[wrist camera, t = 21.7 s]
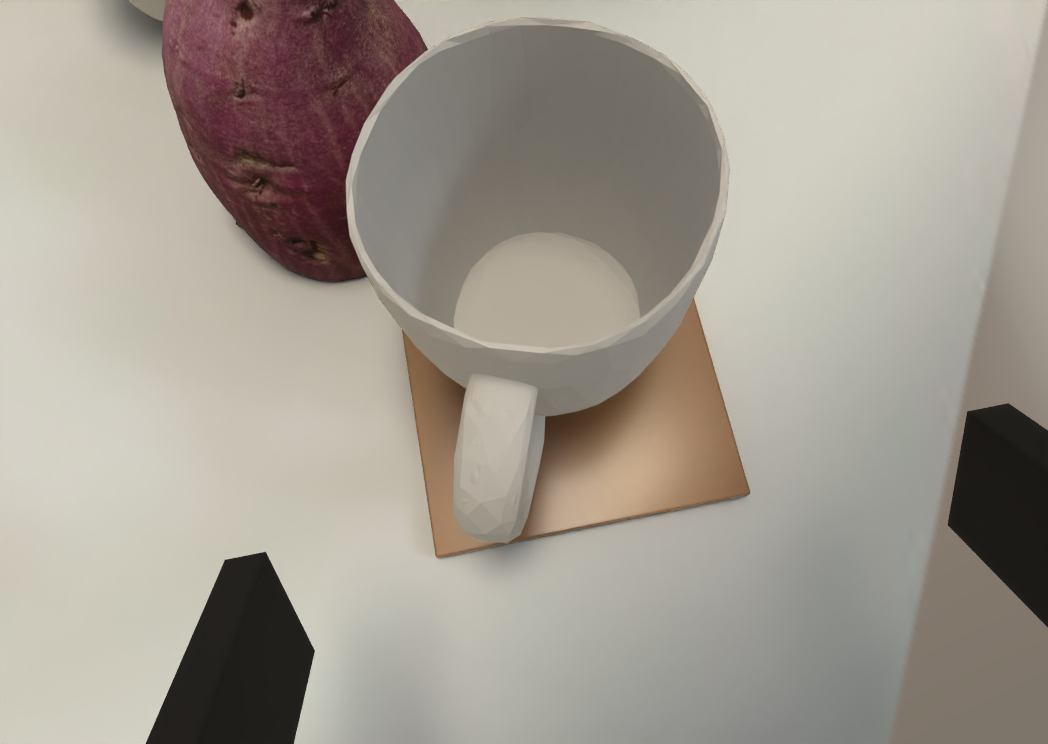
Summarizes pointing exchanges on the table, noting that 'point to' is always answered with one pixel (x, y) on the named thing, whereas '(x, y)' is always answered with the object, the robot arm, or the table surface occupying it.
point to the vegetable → (284, 111)
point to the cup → (151, 7)
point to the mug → (535, 230)
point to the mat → (598, 446)
